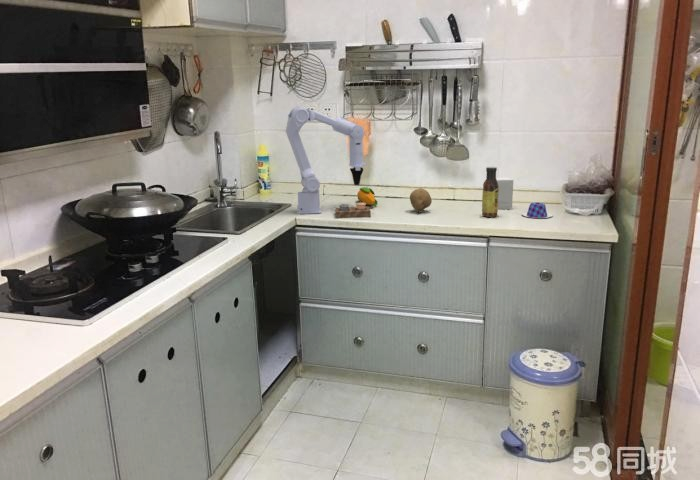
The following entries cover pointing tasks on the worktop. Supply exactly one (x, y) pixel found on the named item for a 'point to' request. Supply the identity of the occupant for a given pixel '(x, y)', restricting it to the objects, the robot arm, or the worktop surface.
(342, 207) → the grey plug
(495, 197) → the sauce bottle
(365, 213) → the socket board
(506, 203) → the supplement box
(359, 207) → the terracotta plug
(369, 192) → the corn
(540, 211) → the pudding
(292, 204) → the worktop surface
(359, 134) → the robot arm
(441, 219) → the worktop surface
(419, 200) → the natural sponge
